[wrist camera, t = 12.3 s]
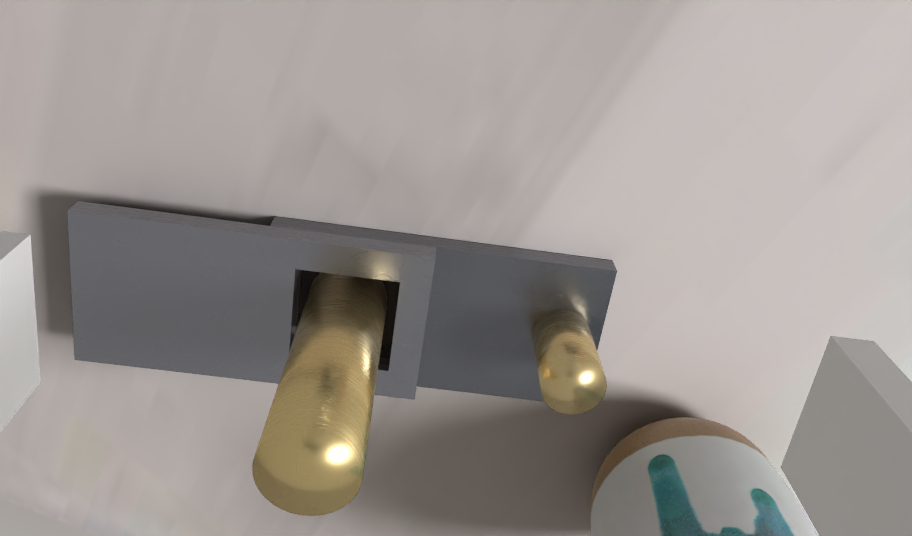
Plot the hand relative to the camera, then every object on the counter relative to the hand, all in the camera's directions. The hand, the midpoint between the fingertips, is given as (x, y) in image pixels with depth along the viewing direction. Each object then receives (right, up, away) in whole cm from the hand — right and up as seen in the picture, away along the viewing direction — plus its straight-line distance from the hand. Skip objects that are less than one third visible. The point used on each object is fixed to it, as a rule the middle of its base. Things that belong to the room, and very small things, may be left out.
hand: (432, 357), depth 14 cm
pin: (-5, 0, +29) cm, 30 cm away
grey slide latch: (-5, 0, +29) cm, 30 cm away
